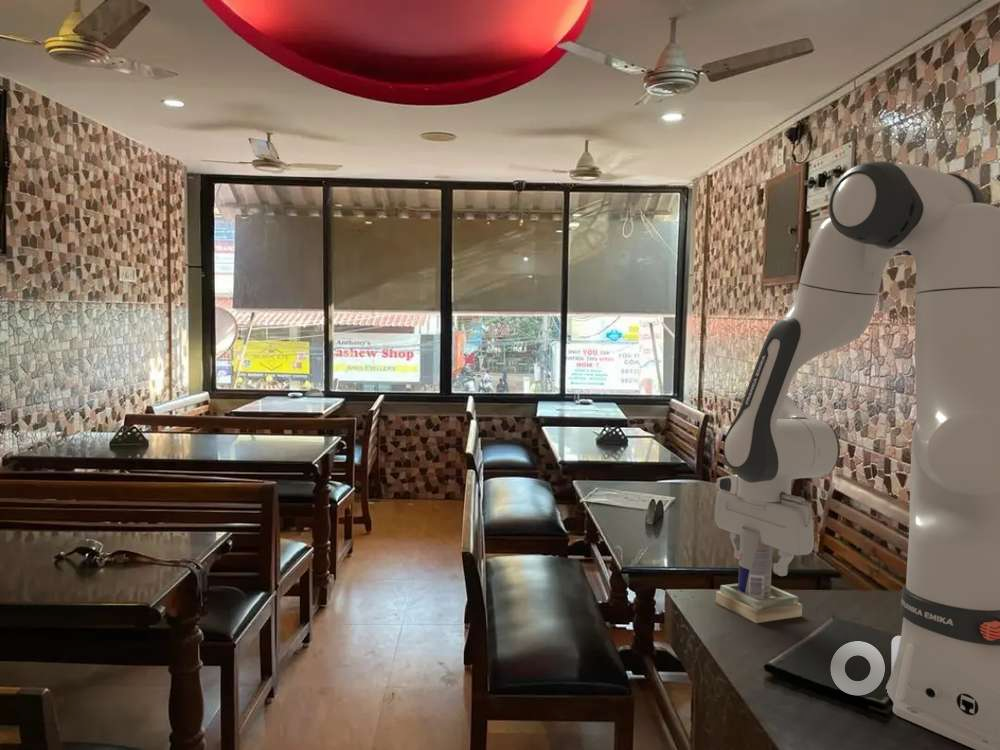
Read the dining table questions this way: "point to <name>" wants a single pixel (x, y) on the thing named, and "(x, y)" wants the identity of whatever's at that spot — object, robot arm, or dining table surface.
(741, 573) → the energy drink
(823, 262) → the robot arm
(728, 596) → the plinth
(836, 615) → the dining table surface
